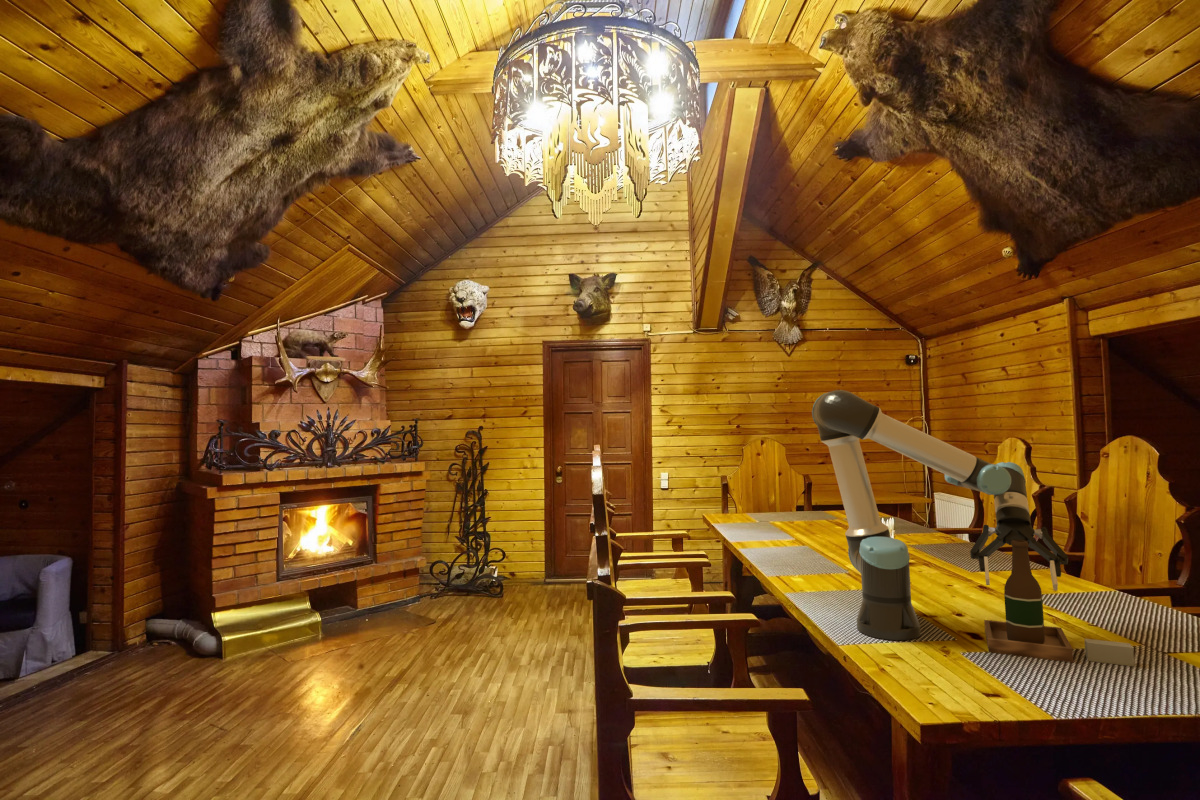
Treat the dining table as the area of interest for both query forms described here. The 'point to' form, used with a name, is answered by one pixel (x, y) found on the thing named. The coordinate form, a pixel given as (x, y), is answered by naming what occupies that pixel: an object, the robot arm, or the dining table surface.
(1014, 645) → the tray
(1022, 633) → the beer bottle
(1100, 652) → the block
